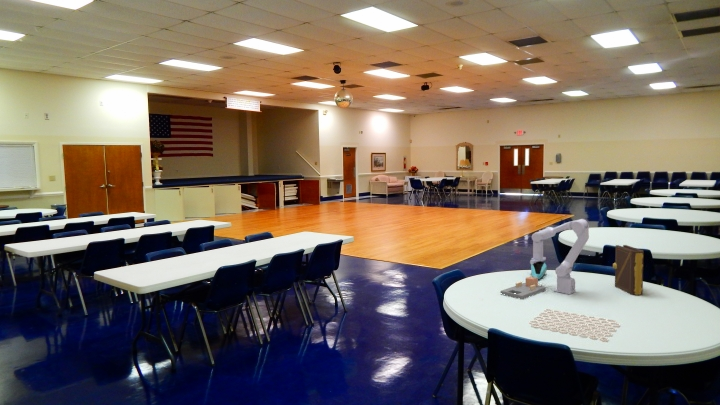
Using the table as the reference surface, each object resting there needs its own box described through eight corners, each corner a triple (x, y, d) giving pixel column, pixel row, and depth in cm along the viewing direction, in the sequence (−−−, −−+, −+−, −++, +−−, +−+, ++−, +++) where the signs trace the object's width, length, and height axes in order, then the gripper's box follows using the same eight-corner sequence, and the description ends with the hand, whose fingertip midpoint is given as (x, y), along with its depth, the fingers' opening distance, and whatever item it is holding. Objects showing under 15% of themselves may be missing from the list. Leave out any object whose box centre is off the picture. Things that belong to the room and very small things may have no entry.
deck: (545, 290, 275) (545, 283, 274) (522, 299, 259) (522, 291, 259) (524, 286, 286) (524, 278, 285) (500, 294, 270) (500, 286, 270)
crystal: (531, 290, 293) (524, 276, 293) (536, 270, 323) (530, 257, 323) (546, 286, 288) (539, 271, 288) (550, 266, 318) (544, 253, 318)
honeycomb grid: (546, 310, 241) (546, 308, 241) (622, 323, 219) (622, 321, 219) (525, 326, 219) (525, 324, 218) (608, 343, 196) (608, 341, 196)
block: (537, 286, 278) (537, 277, 277) (533, 287, 274) (533, 279, 274) (530, 284, 281) (530, 276, 281) (525, 286, 278) (525, 277, 278)
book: (646, 295, 260) (647, 251, 258) (630, 295, 260) (631, 251, 258) (624, 284, 282) (625, 244, 280) (610, 285, 282) (611, 244, 280)
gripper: (538, 249, 288) (538, 270, 289) (525, 252, 279) (525, 274, 280) (549, 250, 283) (548, 272, 284) (536, 254, 274) (536, 276, 275)
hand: (537, 273), depth 282 cm, fingers closed
